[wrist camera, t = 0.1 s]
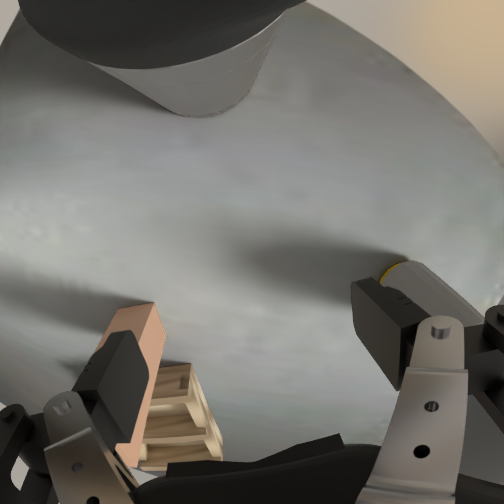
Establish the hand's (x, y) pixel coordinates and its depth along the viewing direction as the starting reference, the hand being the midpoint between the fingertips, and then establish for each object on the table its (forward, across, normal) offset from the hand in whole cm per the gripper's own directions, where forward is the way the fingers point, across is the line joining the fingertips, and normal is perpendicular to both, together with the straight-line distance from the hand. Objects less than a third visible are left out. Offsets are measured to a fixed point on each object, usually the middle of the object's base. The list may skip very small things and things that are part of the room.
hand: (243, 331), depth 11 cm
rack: (+19, +13, +20) cm, 31 cm away
